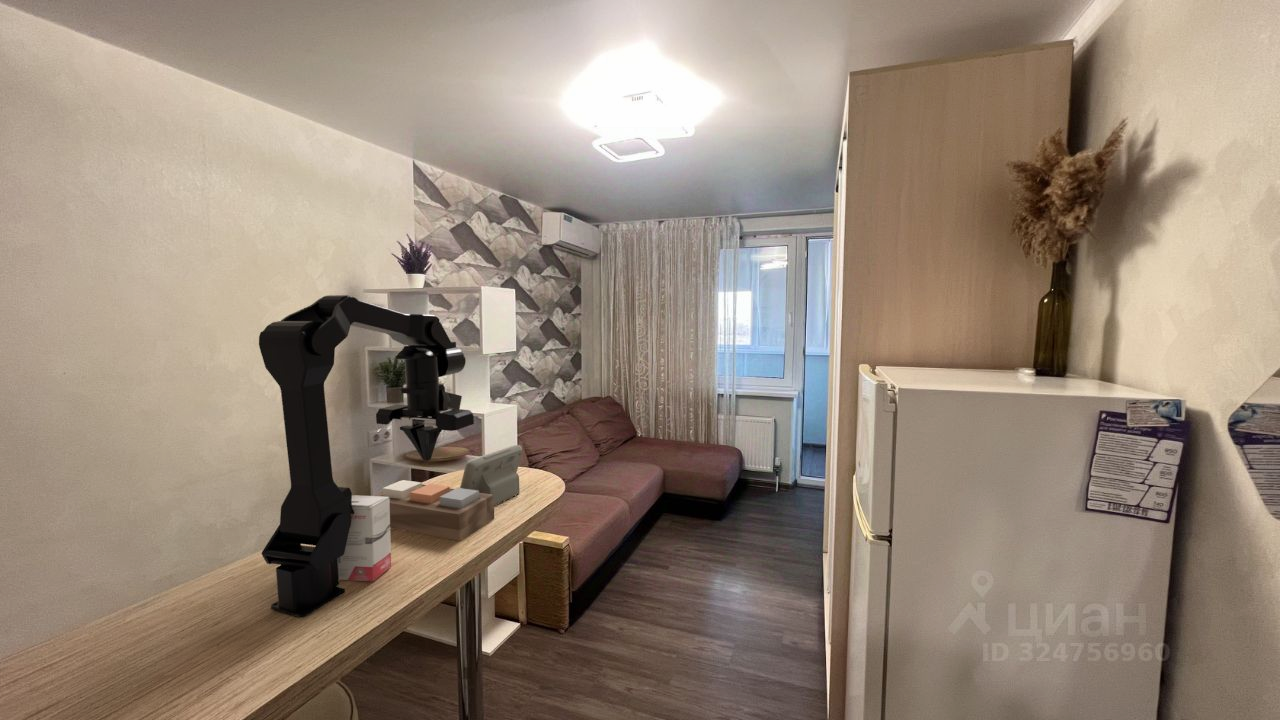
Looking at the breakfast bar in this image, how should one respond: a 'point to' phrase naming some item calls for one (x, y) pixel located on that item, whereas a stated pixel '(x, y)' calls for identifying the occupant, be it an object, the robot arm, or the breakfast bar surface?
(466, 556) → the breakfast bar surface
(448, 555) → the breakfast bar surface
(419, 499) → the terracotta key
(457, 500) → the grey key
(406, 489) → the cream key
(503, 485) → the digital clock
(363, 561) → the ink box
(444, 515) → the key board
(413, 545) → the breakfast bar surface
